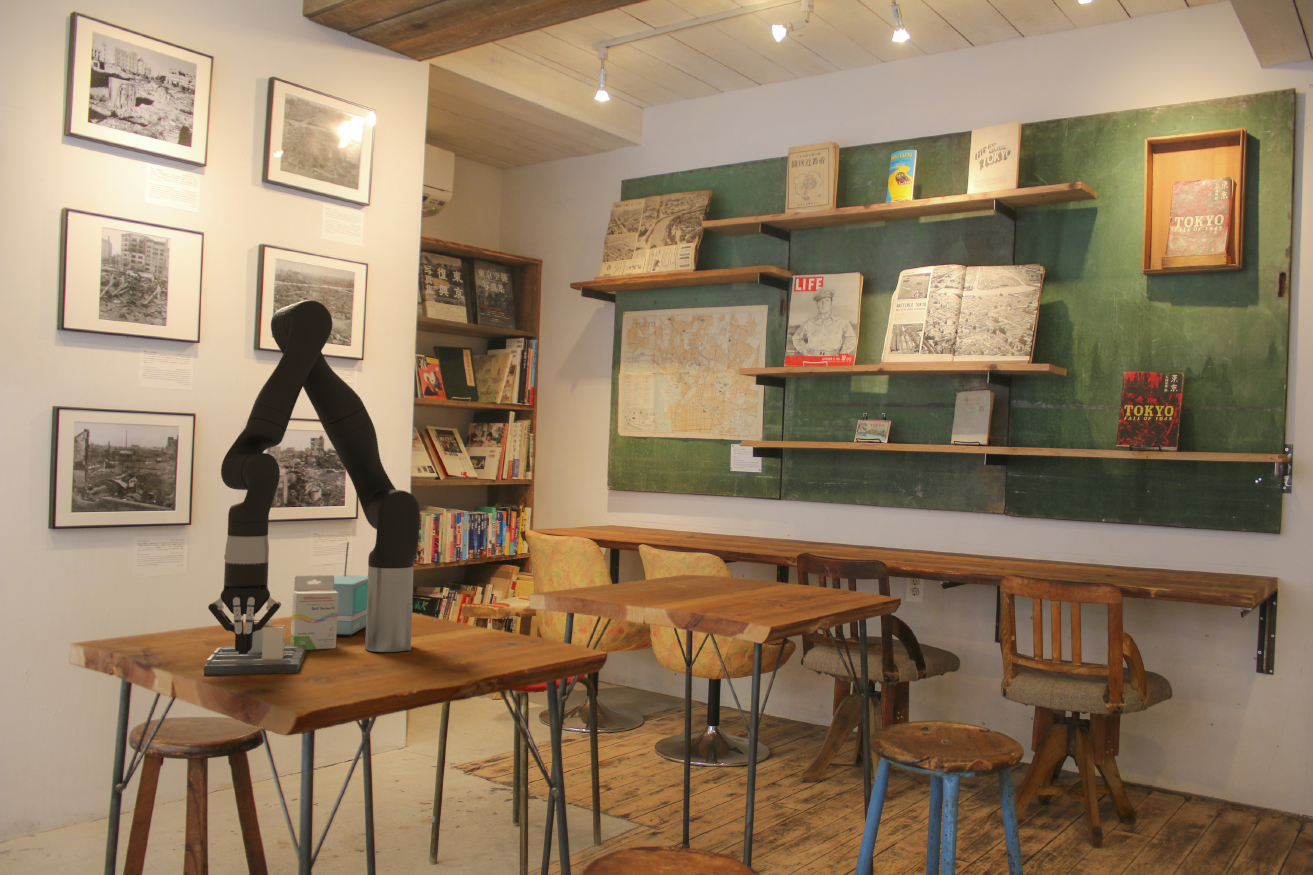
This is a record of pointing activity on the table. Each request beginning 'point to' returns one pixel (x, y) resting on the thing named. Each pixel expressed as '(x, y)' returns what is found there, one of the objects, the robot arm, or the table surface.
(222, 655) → the gray slotted tray
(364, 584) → the radio
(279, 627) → the fader near
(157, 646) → the table surface
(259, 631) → the fader far
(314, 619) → the ink box
